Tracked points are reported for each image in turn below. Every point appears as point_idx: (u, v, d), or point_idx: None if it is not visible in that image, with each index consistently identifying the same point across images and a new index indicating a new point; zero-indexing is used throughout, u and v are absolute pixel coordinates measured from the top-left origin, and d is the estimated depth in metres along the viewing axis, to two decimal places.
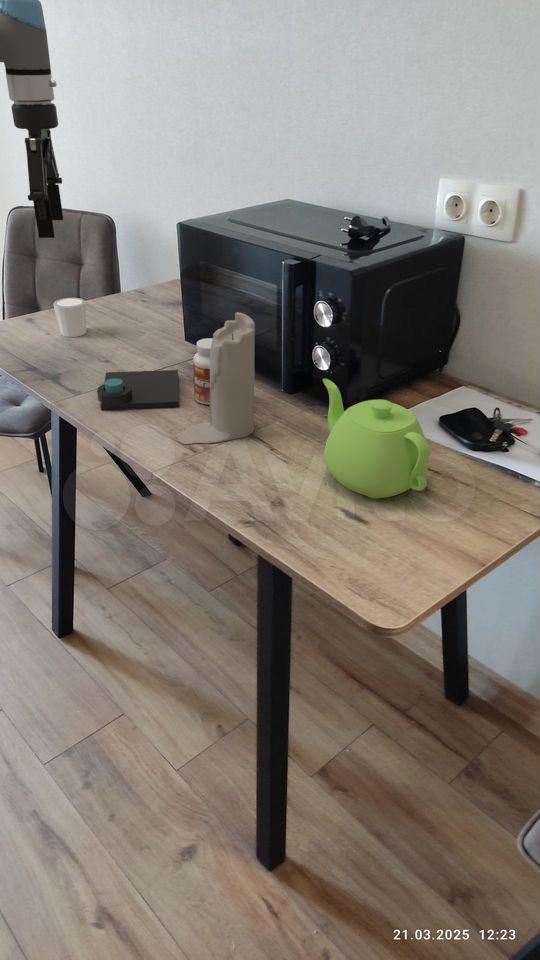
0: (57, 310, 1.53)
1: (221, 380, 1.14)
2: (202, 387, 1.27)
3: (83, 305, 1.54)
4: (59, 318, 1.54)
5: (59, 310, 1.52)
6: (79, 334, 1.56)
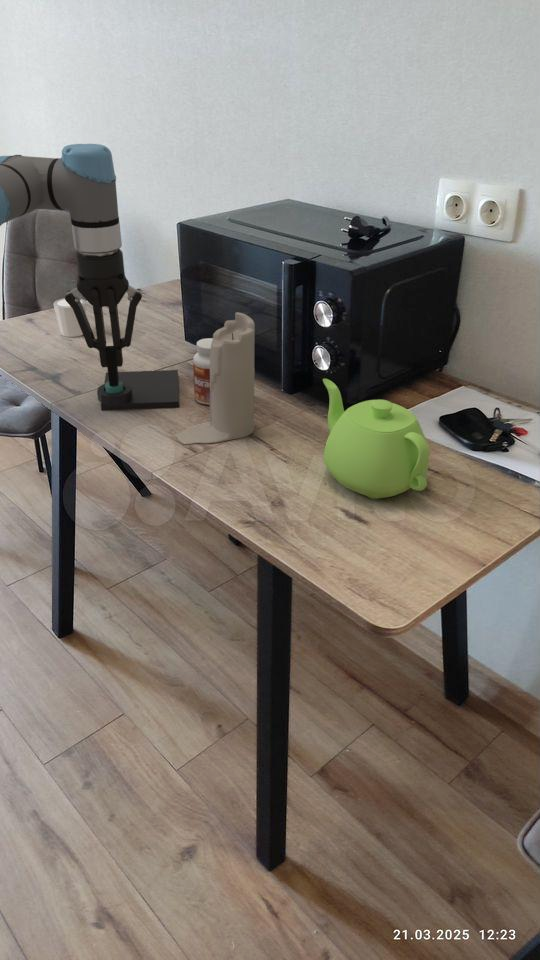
0: (57, 310, 1.53)
1: (221, 380, 1.14)
2: (202, 387, 1.27)
3: (83, 305, 1.54)
4: (59, 318, 1.54)
5: (59, 310, 1.52)
6: (79, 334, 1.56)
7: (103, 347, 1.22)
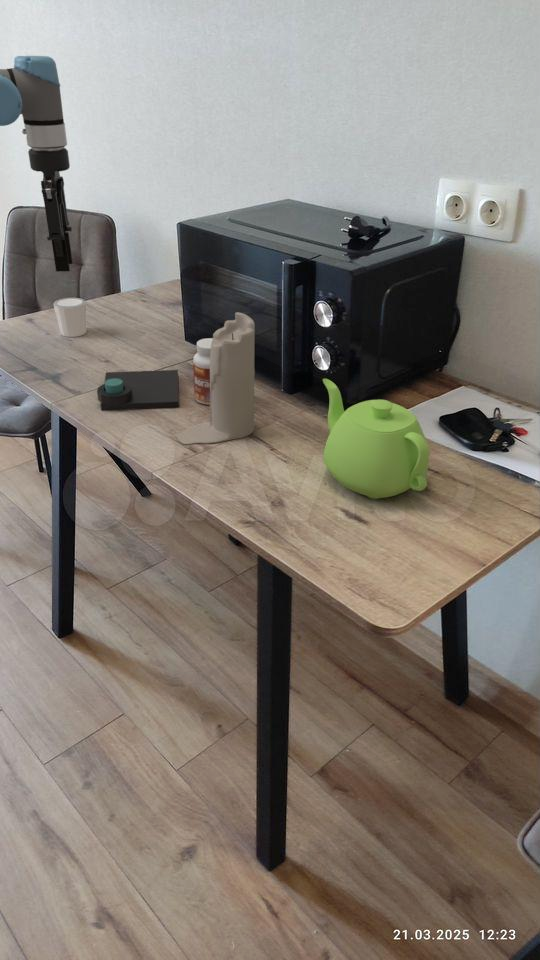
0: (57, 310, 1.53)
1: (221, 380, 1.14)
2: (202, 387, 1.27)
3: (83, 305, 1.54)
4: (59, 318, 1.54)
5: (59, 310, 1.52)
6: (79, 334, 1.56)
7: (63, 236, 1.44)
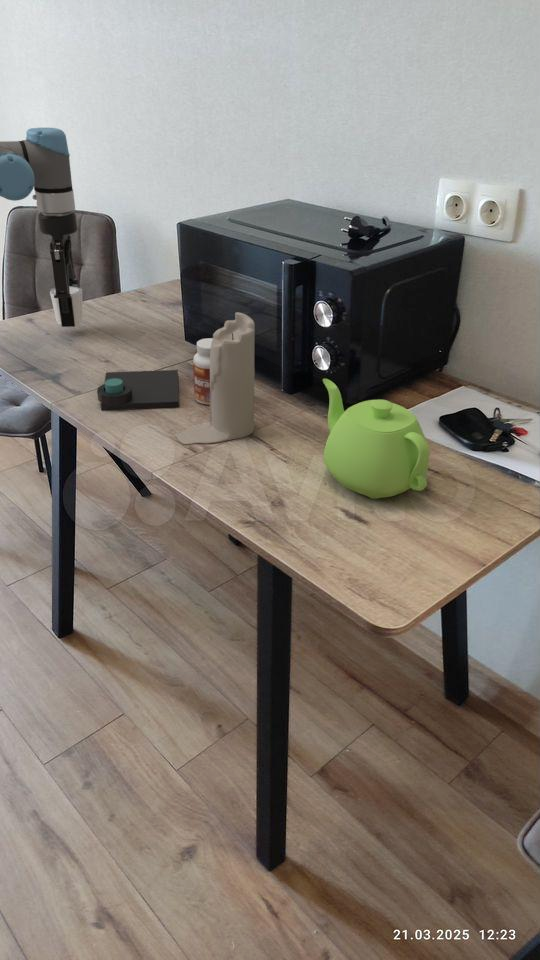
0: (53, 298, 1.51)
1: (221, 380, 1.14)
2: (202, 387, 1.27)
3: (80, 293, 1.52)
4: (55, 306, 1.52)
5: (55, 298, 1.51)
6: (75, 323, 1.55)
7: (69, 294, 1.49)
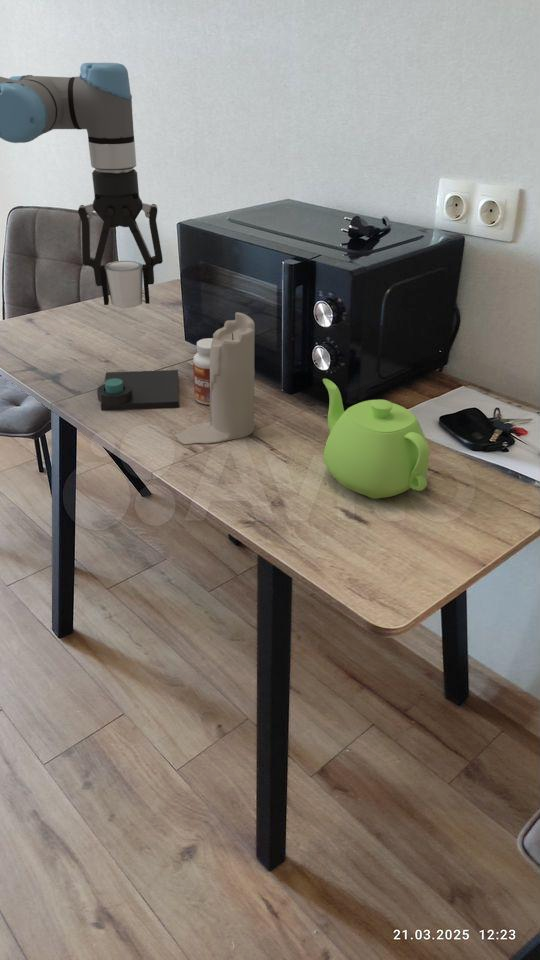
0: None
1: (221, 380, 1.14)
2: (202, 387, 1.27)
3: (116, 272, 1.25)
4: None
5: None
6: (113, 304, 1.30)
7: (98, 265, 1.26)
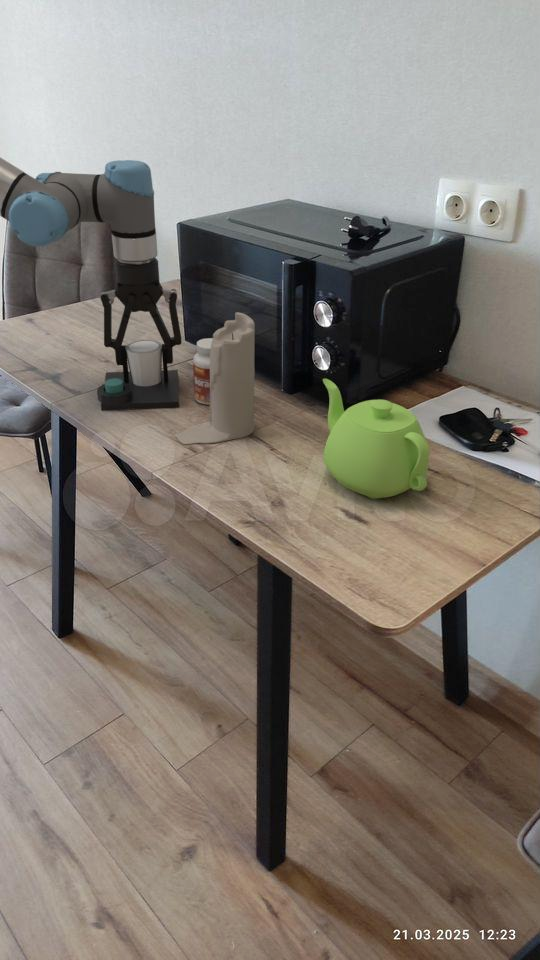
0: None
1: (221, 380, 1.14)
2: (202, 387, 1.27)
3: (136, 354, 1.29)
4: None
5: None
6: (133, 382, 1.33)
7: (119, 346, 1.29)
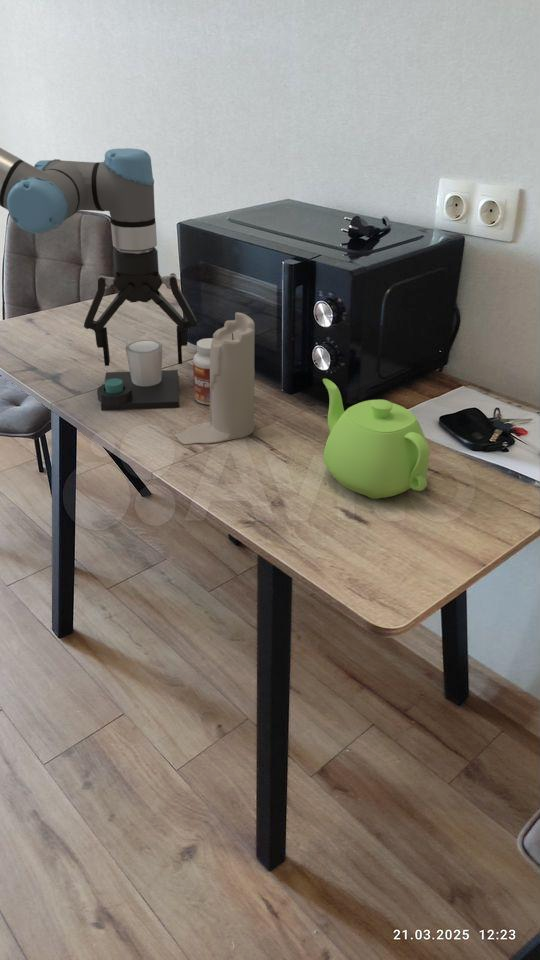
0: None
1: (221, 380, 1.14)
2: (202, 387, 1.27)
3: (136, 354, 1.29)
4: None
5: None
6: (134, 382, 1.33)
7: (99, 329, 1.27)
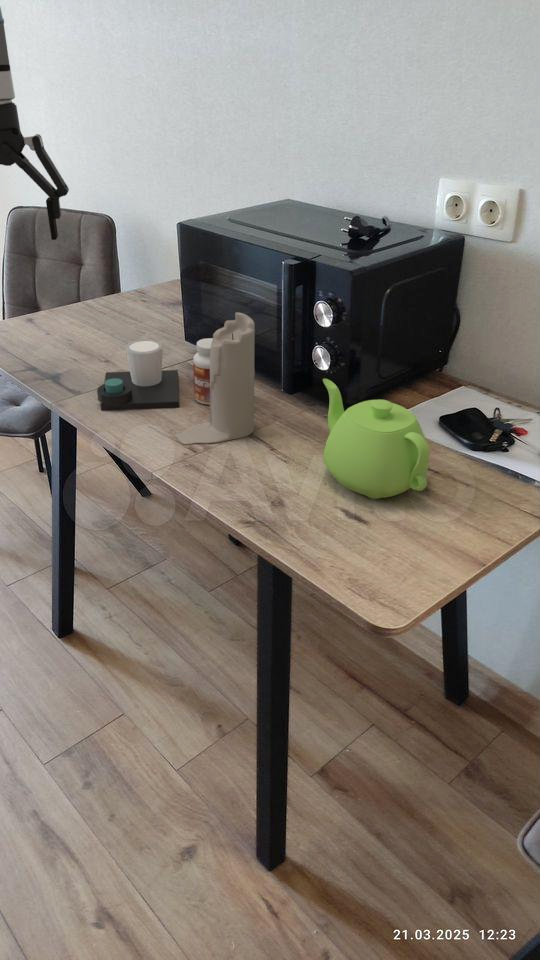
0: None
1: (221, 380, 1.14)
2: (202, 387, 1.27)
3: (136, 354, 1.29)
4: None
5: None
6: (134, 382, 1.33)
7: None
